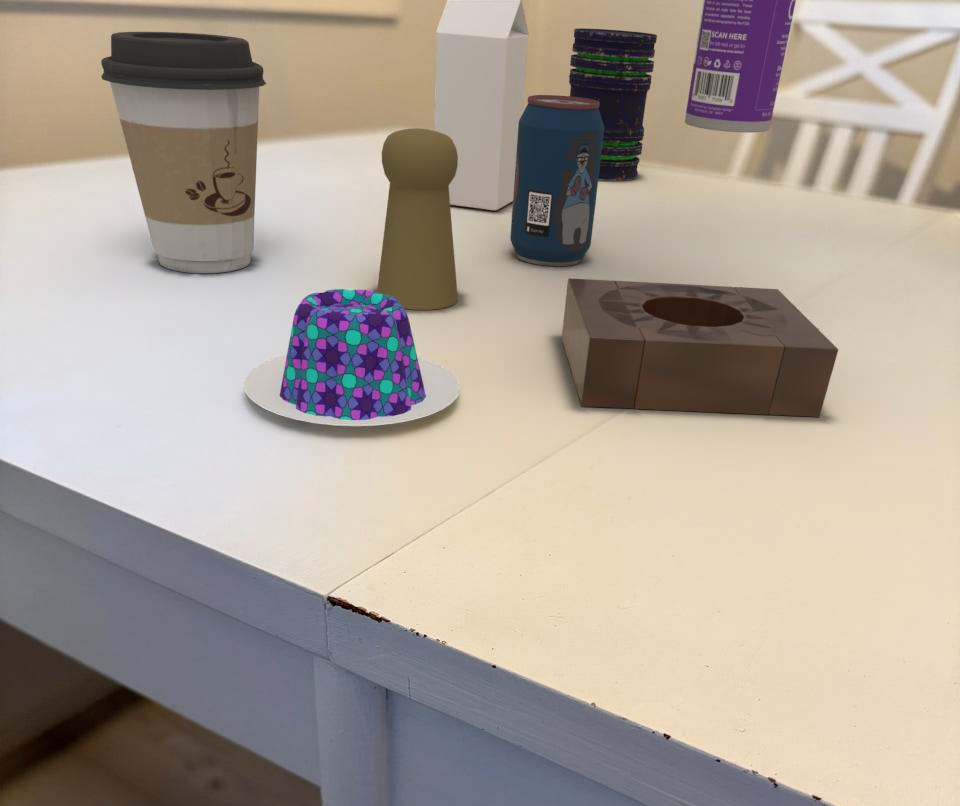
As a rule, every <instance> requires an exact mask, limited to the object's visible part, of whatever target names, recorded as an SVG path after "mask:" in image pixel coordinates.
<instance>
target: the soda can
mask: <svg viewBox="0 0 960 806" xmlns="http://www.w3.org/2000/svg"><path fill="white" fill-rule="evenodd" d="M599 105H600V103H599V102H598V101H596V100H592V99H587V98H580V97H571V96H570V95H555V94H534V95H533V94H532V95H530V96H528V97H527V105H526V106H525V109H523V114H522V116H521V118H520V120H519V125H518V139H517V153H516V167H515V181H514V195H513V201H512V209H511V224H510V225H511V226H510V235H509V236H510V237H509V239H510V243H511V245H512V247H513V248H512V249H513V250H514V253H515V254H516V256H517V258H518V259H519V260H521V261H523V262H526V263H530V264H533V265H537V266H538V265H539V266H546V267H567V266H574V265H577V264H579V263H581V261H582V260H583V259H584V257H585V256H586V254H587V253H588V251H589V249H590V248H591V245H592V238H593V237H592V236H593V229H594V220H595V211H596V203H597V195H598V194H597V193H598V186H599V185H598V184H599V180H598V178H599V169H600V160H601V152H602V143H603V134H604V125H603V122H602V118H601V115H600V112H599V109H598V108H599Z"/></svg>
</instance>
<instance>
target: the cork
mask: <svg viewBox="0 0 960 806" xmlns="http://www.w3.org/2000/svg"><path fill="white" fill-rule="evenodd" d="M381 165H382V169H383V173H384V175H385V177H386V179H387V180H388V182H389V188H388V196H387V204H386V205H387V206H386V214H385V220H384V230H383V237H382V238H383V239H382V246H381V255H380V262H379V263H380V264H379V271H378V272H379V273H378V280H377V288H376V293H378V294H386V295H389V296H393V297H394V298H395V299H397V300H398V301H399V302H400V304H401V305H402V306H403V307H404V309H405V310H412V311H415V310H416V311H430V310H440V309H445V308H450V307H452V306H454V305H456V304H457V302H458V301H459V297H458V296H459V295H458V284H457V273H456V271H457V270H456V261H455V249H454V248H455V247H454V236H453V224H452V211H451V205H450V198H449V184H450V183H451V181H452V180H453V178H454V177H455V174H456V170H457V165H458V155H457V150H456V147H455V145H454V143H453V140H452V139H451V138H450V137H449V136H447V135H445V134H442V133H440V132H437V131H434V129H433V130H432V129H427V128H416V127H415V128H414V127H413V128H406V129H401V130H395V131H394V132H391V133H390V134H388V135H387V137H386V139H385V140H384V142H383V145H382V149H381Z"/></svg>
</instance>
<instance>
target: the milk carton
mask: <svg viewBox="0 0 960 806" xmlns="http://www.w3.org/2000/svg"><path fill="white" fill-rule="evenodd" d="M526 19H527V18H526V16H525V10H524V5H523V1H522V0H446V3H445V6H444V9H443V11H442V14H441V17H440V19H439V22H438V25H437V28H436V30H435V64H434V65H435V67H434V70H435V71H434V102H433V103H434V104H433V108H434V109H433V110H434V111H433V131H437V132H440V133H442V134H445V135H447V136H449V137H450V138H451V139H452V140H453V143H454V145H455V147H456V150H457V155H458V165H457V170H456V174H455V177H454V178H453V180H452V181H451V183H450V184H449V198H450V206H457V207H459V206H460V207H464V208H465V207H466V208H474V209H481V210H489V211H498V210H499V209H501V208H503V207H505V206H507V205H509V204H510V203H513V195H514V181H515V167H516V153H517V139H518V125H519V120H520V118H521V116H522V114H523V112H524V105H525V104H524V103H525V92H526V91H525V90H526V77H527V63H528V62H527V61H528V49H529V37H530V36H529V29H528V25H527V20H526Z"/></svg>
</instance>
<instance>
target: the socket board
mask: <svg viewBox="0 0 960 806" xmlns="http://www.w3.org/2000/svg"><path fill="white" fill-rule="evenodd" d="M561 341H562V344H563V347H564V350H565V351H564V352H565V354H566V355H565V356H566V359H567V360H568V365H569V368H570V372H571V375H572V378H573V382H574V385H575V388H576V392H577V396H578V399H579V402H580V405H581V406H582V407H593V408H614V409H615V408H617V409H636V410H654V411H655V410H657V411H677V412H678V411H679V412H701V413H725V414H744V415H745V414H748V415H769V416H792V417H793V416H794V417H812V418H813V417H816V418H818V417H820V416H821V414H822V410H823V405H824V402H825V399H826V395H827V393H828V388H829V385H830V382H831V377H832V374H833V371H834V367H835V364H836V360H837V356H838V352H839V348H838V347H837V346H835V344H834V343H833V342H832V341H831V340H830V339H829V338H828V337H826V335H825V334H823V332H822V331H821V330H820V329H819V328H817V327H816V326H815V324H813V322H811V320H810V319H808V317H807V316H805V314H804V313H803V312H802V311H801V310H800V309H798V308H797V306H795V304H794V303H793V302H791V301H790V300H789V298H787V297H786V295H784V294H783V293H782V291H780V289H778V288H763V287H762V288H761V287H760V288H759V287H745V286H744V287H743V286H727V285H726V286H724V285H722V286H721V285H707V284H706V285H704V284H687V283H667V282H647V281H631V280H630V281H629V280H606V279H591V278H590V279H588V278H568V279H567V284H566V294H565V304H564V313H563V324H562V332H561Z"/></svg>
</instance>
